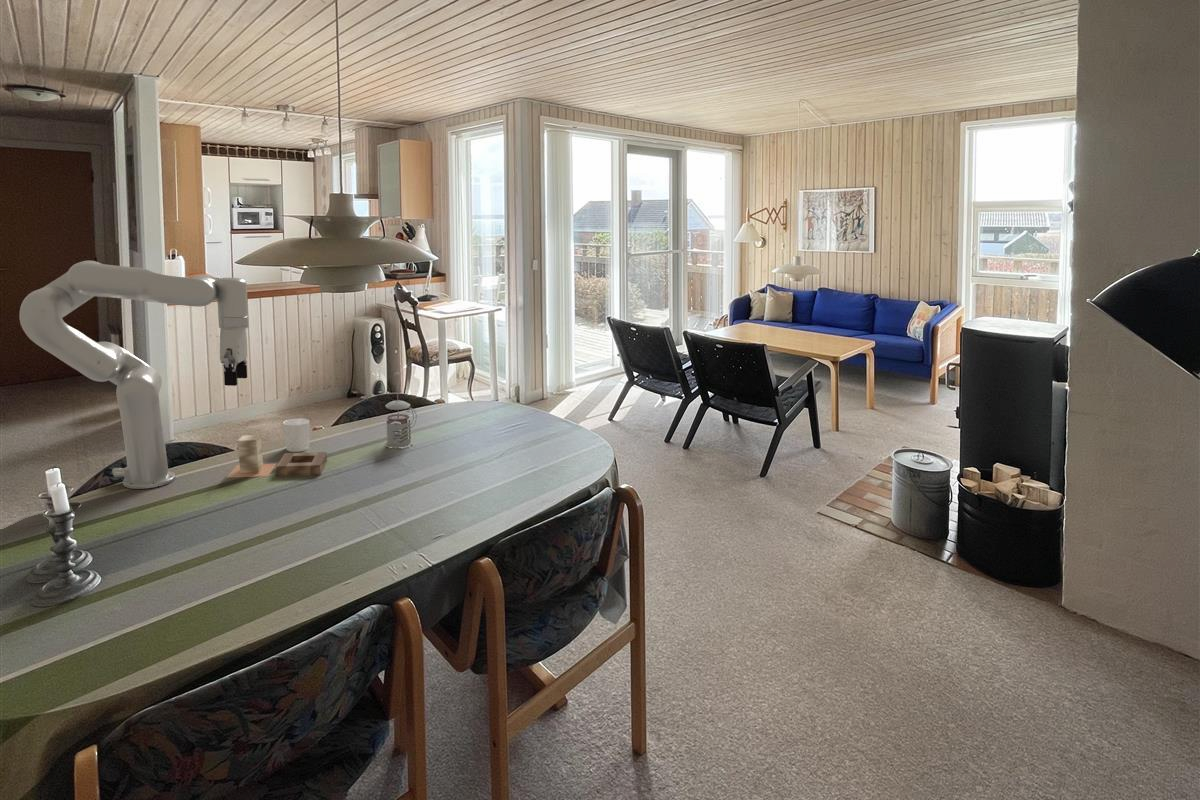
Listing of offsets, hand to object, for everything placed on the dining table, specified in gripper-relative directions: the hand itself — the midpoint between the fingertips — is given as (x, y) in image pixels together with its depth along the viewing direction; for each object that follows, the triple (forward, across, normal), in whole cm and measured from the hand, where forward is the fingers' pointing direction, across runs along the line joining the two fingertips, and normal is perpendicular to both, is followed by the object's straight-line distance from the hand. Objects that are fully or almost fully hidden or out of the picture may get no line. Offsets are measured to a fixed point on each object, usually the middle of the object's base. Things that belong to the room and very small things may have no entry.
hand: (236, 381), depth 207 cm
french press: (+26, -25, +44) cm, 57 cm away
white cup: (+27, -19, +12) cm, 35 cm away
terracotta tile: (+27, +1, +4) cm, 28 cm away
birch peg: (+26, +1, +4) cm, 27 cm away
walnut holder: (+27, +1, +18) cm, 32 cm away
